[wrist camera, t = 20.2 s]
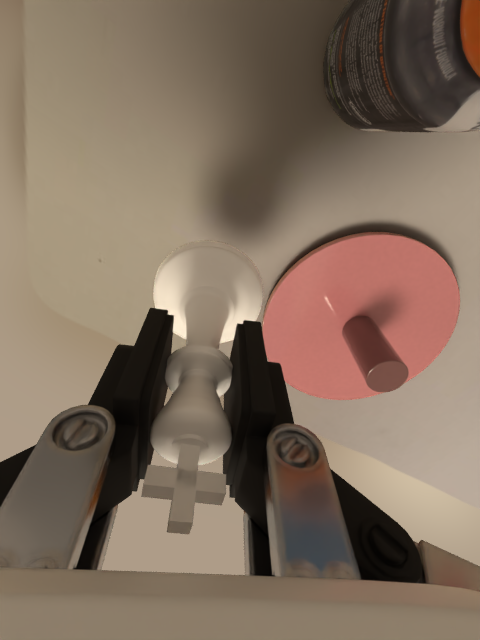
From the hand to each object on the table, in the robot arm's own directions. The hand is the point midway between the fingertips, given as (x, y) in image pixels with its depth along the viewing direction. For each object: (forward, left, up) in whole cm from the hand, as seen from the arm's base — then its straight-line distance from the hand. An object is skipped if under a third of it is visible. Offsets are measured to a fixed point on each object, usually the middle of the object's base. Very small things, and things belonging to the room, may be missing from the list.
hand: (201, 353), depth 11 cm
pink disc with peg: (+11, -4, -11) cm, 16 cm away
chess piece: (0, 0, -5) cm, 5 cm away
